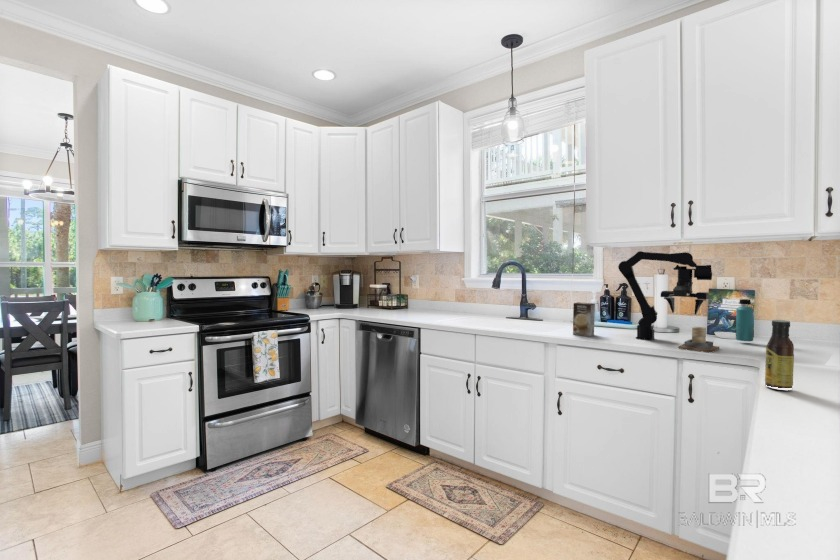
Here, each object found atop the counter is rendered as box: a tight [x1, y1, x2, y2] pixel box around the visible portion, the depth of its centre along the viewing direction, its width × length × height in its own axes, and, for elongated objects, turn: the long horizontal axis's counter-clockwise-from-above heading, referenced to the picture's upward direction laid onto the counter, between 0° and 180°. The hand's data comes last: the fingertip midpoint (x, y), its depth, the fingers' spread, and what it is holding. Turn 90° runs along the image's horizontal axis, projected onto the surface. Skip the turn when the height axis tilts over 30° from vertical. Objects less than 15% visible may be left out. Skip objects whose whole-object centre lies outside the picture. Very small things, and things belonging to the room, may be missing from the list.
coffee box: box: [572, 301, 596, 337], centre depth 222 cm, size 9×6×16 cm
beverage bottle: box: [735, 298, 755, 342], centre depth 197 cm, size 6×7×20 cm
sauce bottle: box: [764, 319, 795, 389], centre depth 125 cm, size 7×6×20 cm
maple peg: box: [691, 326, 707, 344], centre depth 185 cm, size 4×4×8 cm
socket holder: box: [677, 338, 720, 353], centre depth 185 cm, size 12×12×3 cm
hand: (684, 313), depth 201 cm, fingers open, 9 cm apart
